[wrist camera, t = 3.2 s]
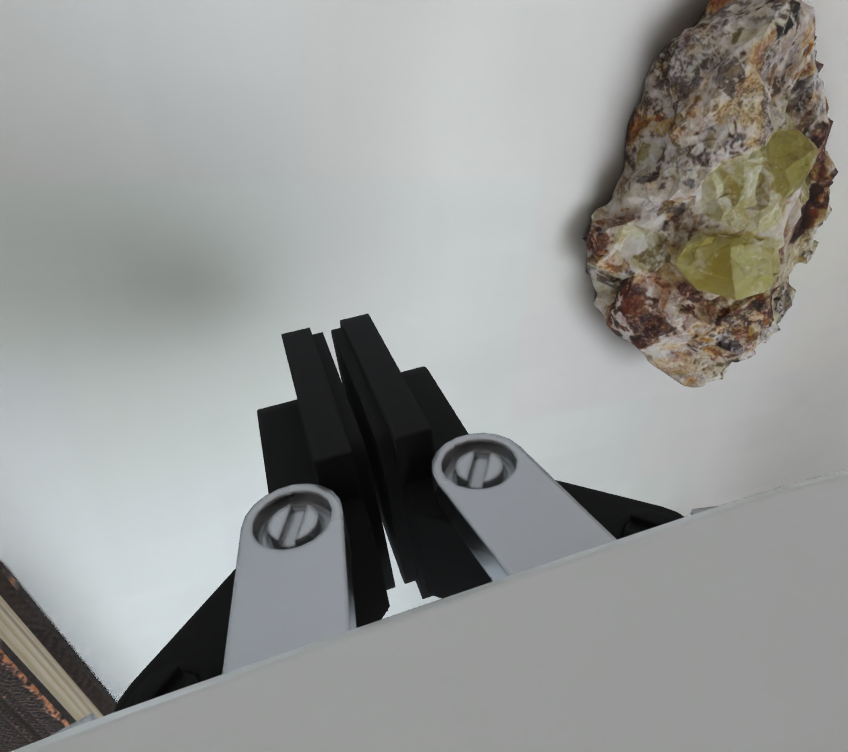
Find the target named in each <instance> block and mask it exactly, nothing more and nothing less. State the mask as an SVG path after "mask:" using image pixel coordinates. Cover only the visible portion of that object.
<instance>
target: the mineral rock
mask: <svg viewBox="0 0 848 752" xmlns="http://www.w3.org/2000/svg"><path fill="white" fill-rule="evenodd" d="M816 37H817V36H815V14H814V7H811V6H809V5H806V4H805V3H804V2H803V1H802V0H710V1H709V3H708V4H707V7H706V9H705V11H704V14H703V16H702V18H701V20H700V21H699V22H698V23H697V24H696V26H695V27H692V28H687V29H684V31H683V32H682V33H681V34H680V35H679V36H678V37H676V38H672V39H671V40H670V41H669V43H668V44H667V45H666V47H665V48H664V49H663V51H662V52H661V53H660V55H659V56H658V58H657V59H656V60H655V62H654V63H653V65H652V66H651V68H650V70H649V73H648V75H647V77H646V79H645V91H644V94H643V98H642V101H641V102H640V103H639V105H638V106H637V107H636V108H635V110H634V112H633V115H632V117H631V119H630V122H629V124H628V129H627V138H626V149H625V170H624V172H623V173H622V175H621V177H620V179H619V181H618V183H617V185H616V186H615V189H614V192H613V194H612V197H611V200H610V202H609V203H608V204H607V205H605V206H603V207H600V208H597V209H596V211H595V212H594V213H593V214H592V215H591V219H592V223H591V224H590V232H589V233H588V235H587V236H586V237H584V238H583V240H584V241H585V242H586V243H587V269H586V272H587V274H588V275H589V276H590V277H591V279H592V283H593V286H594V288H595V290H596V291H597V297H596V300H595V302H594V305H595V306H596V307H597V308H598V309H599V310H600V312H601V313H602V314H603V315H604V317H605V318H606V323H607V326H608V327H609V328H610V329H611V330H612V331H613V332H614V333H615V334H616V335H618V336H620V337H621V338H623V339H625V340H627V341H629V342H631V343H632V344H634V345H635V346H636V347H637V348H638V349H639V350H640V351H641V352H643V353H644V354H645V356H646V358H647V359H648V361H649V362H650V363H651V364H652V365H654V366H655V367H657V368H658V369H660V370H661V371H663V372H664V373H666V374H667V375H668V376H670V377H671V378H673V379H674V380H675V381H677V382H679V383H680V384H682V385H684V386H688V387H702V386H703V385H705V384H706V383H707V382H710V381H713V380H716V379H723V378H724V375H725V373H726V371H727V368H728V366H729V365H730V363H731V362H739V361H741V360H745V359H748V358H750V357H751V356H753V355H755V354H756V353H755V351H754V349H755V347H756V346H757V345H758V344H760V343H766V342H767V340H768V339H769V338H770V337H771V336H772V334H773V333H775V332H777V331H779V330H780V328H779V326H778V323H779V322H780V321H781V319H782V317H783V316H784V315H785V313H786V311H787V310H788V309H789V308H790V307H791V306H792V300H793V298H794V296H795V293H796V290H795V289H794V288H792V287H791V286H790V285H789V277H788V276H789V274H790V273H791V271H792V269H793V267H794V266H795V265H796V264H797V263H799V262H802V263H806V264H807V263H808V261H809V260H810V259H811V257H812V256H813V254H814V251H815V249H816V247H817V245H818V243H819V242H817V241H815V240H814V238H815V234H816V230H817V229H818V228H819V227H820V226H821V225H822V224H823V222H824V221H825V220H826V219H827V217H828V215H829V214H830V212H831V211H832V209H831V207H830V205H829V194H830V189H829V187H830V186H831V185H832V184H833V181H832V180H833V178H834V177H835V176H836V174H837V173H838V171H837V169H836V168H835V166H834V163H833V161H832V160H831V158H830V157H829V155H828V152H827V151H825V146H826V142H827V139H828V136H829V133H830V129H831V126H832V123H833V121H832V120H830V119H829V118H828V117H827V113H828V104H827V99H826V97H825V93H824V87H823V81H822V80H821V79H820V78H819V74H818V73H819V71H820V70H821V68H822V67H823V64H821V63H819V62H817V61H816V60H815V57H816V51H815V45H816V43H815V44H814V41H815V39H816Z"/></svg>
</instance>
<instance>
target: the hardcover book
mask: <svg viewBox="0 0 848 752" xmlns="http://www.w3.org/2000/svg"><path fill="white" fill-rule="evenodd" d="M116 705H117V703H116V702H115V701H114V700H113V699H112V697H111V696H110V695H109V694H108V692H107V691H106V690H105V689H104V688H103V686H102V685H101V684H100V683H99V681H98V680H97V679H96V678H95V677H94V675H93V674H92V673H91V672H90V670H89V669H88V668H87V667H86V666H85V664H84V663H83V662H82V661H81V659H80V658H79V657H78V656H77V655H76V653H75V652H74V651H73V650H72V648H71V647H70V646H69V645H68V644H67V642H66V641H65V640H64V639H63V637H62V636H61V635H60V634H59V632H58V631H57V630H56V629H55V628H54V626H53V625H52V624H51V623H50V621H49V620H48V619H47V618H46V617H45V615H44V614H43V613H42V612H41V610H40V609H39V608H38V607H37V606H36V604H35V603H34V602H33V601H32V599H31V598H30V597H29V596H28V595H27V593H26V592H25V591H24V590H23V588H22V587H21V586H20V585H19V584H18V582H17V581H16V580H15V579H14V577H13V576H12V575H11V574H10V573H9V571H8V570H7V569H6V568H5V566H4V565H3V564H2V563H1V562H0V752H11V751H13V750H16V749H19V748H21V747H24V746H26V745H29V744H31V743H34V742H37V741H39V740H42V739H44V738H47V737H49V736H51V735H52V734H54V733H56V732H58V731H60V730H62V729H63V728H65V727H67V726H69V725H71V724H73V723H75V722H76V721H78V720H80V719H82V718H84V717H86V716H87V715H89V714H91V713H94V715H95V716H96V718H97V719H98V718H101V717H103V716H106V715H108V714H110V713H112V712H114V710H115V708H116Z"/></svg>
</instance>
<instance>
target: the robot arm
mask: <svg viewBox="0 0 848 752" xmlns="http://www.w3.org/2000/svg"><path fill="white" fill-rule="evenodd" d="M340 326H341V328H338V329H334V330H331V333H332V339H333V343H334V348H335V352H336V357H337V362H338V366H339V371H340V375H341V379H340V377H339V374H338V371H337V369H336V366H335V364H334V361H333V358H332V356H331V353H330V350H329V348H328V345H327V342H326V340H325V337H324V335H323V332H321V333H317V334H313V335H312V333H311V330H310V328H306V329H302V330H297V331H293V332H289V333H285V334H281V335H282V339H283V343H284V347H285V351H286V355H287V359H288V363H289V367H290V371H291V375H292V379H293V383H294V387H295V391H296V395H297V400H293V401H289V402H286V403H282V404H278V405H274V406H270V407H266V408H263V409H259V410H257V415H258V422H259V429H260V436H261V443H262V450H263V457H264V464H265V471H266V478H267V485H268V492H269V494H268V495H266V496H264V497H263V498H262V499H261V500H259V501H258V502H257V503H256V504H255V505H253V507H252V508H251V509H250V511H249V512H248V513H247V515H246V516H245V518H244V521H243V524H242V527H241V533H240V541H239V548H238V556H237V564H236V569H235V570H234V571H233V572H232V573H231V574H230V575H229V576H228V578H227V579H226V580H225V581H224V582H223V583H222V584H221V585H220V586H219V587H218V589H217V590H216V591H215V592H214V593H213V594H212V595H211V596H210V597H209V598H208V600H207V601H206V602H205V603H204V604H203V605H202V606H201V607H200V608H199V610H198V611H197V612H196V613H195V614H194V615H193V616H192V617H191V618H190V619H189V621H188V622H187V623H186V624H185V625H184V626H183V627H182V628H181V629H180V630H179V632H178V633H177V634H176V635H175V636H174V637H173V638H172V639H171V640H170V641H169V643H168V644H167V645H166V646H165V647H164V648H163V649H162V650H161V651H160V652H159V654H158V655H157V656H156V657H155V658H154V659H153V660H152V661H151V662H150V663H149V665H148V666H147V667H146V668H145V669H144V670H143V671H142V672H141V673H140V674H139V676H138V677H137V678H136V679H135V680H134V681H133V682H132V683H131V685H130V686H129V687H128V689H127V690H126V691H125V693H124V694H123V695H122V697H121V698H120V699H119V701H118V703H117V705H116V708H115V710H114V712H112V713H110V714H108V715H106V716H103V717H101V718H98V719H97V718H96V716H95V715H94V713H91V714H89V715H87V716H86V717H84V718H82V719H80V720H78V721H76V722H75V723H73V724H71V725H69V726H67V727H65V728H63V729H62V730H60V731H58V732H56V733H54V734H52V735H51V736H49V737H47V738H44V739H42V740H39V741H37V742H34V743H31V744H29V745H26V746H24V747H21V748H19V749H16V750H13V751H11V752H848V471H843V472H838V473H834V474H829V475H824V476H819V477H815V478H811V479H807V480H804V481H800V482H797V483H793V484H790V485H787V486H783V487H780V488H776V489H773V490H769V491H766V492H762V493H759V494H756V495H752V496H749V497H745V498H742V499H739V500H736V501H733V502H730V503H727V504H724V505H721V506H715V507H707V508H699V509H692V513H691V515H690V516H687V517H684V516H682V515H681V514H679V513H678V512H675V511H672V510H670V509H667V508H664V507H661V506H657V505H653V504H649V503H645V502H641V501H637V500H633V499H629V498H625V497H621V496H617V495H613V494H609V493H605V492H601V491H597V490H593V489H589V488H585V487H581V486H577V485H573V484H569V483H565V482H561V481H557V480H554V479H553V478H552V477H551V476H550V475H549V474H548V473H547V472H546V471H545V470H544V469H543V468H542V467H541V466H540V465H539V464H538V463H537V462H536V461H535V460H534V459H533V458H531V457H530V456H529V455H528V454H527V453H526V452H525V451H524V450H523V449H522V448H521V447H520V446H519V445H517V444H516V443H515V442H513V441H512V440H510V439H508V438H505V437H502V436H500V435H496V434H488V433H476V434H468V432H467V431H466V429H465V428H464V426H463V425H462V423H461V421H460V420H459V418H458V417H457V415H456V413H455V412H454V410H453V409H452V407H451V406H450V404H449V402H448V401H447V399H446V398H445V396H444V394H443V393H442V391H441V390H440V388H439V387H438V385H437V383H436V382H435V380H434V379H433V377H432V375H431V374H430V372H429V371H428V369H427V368H426V367H420V368H416V369H412V370H408V371H404V372H400V370H399V368H398V367H397V365H396V363H395V361H394V359H393V358H392V356H391V354H390V352H389V350H388V349H387V347H386V345H385V343H384V341H383V339H382V338H381V336H380V334H379V332H378V330H377V329H376V327H375V325H374V323H373V321H372V320H371V318H370V316H369V314H364V315H360V316H356V317H352V318H348V319H343V320H340ZM341 380H342V382H341ZM342 384H343V385H342ZM382 522H383V524H382ZM383 525H384V528H385V531H386V534H387V536H388V539H389V542H390V545H391V548H392V550H393V553H394V556H395V559H396V562H397V564H398V567H399V570H400V573H401V576H402V578H403V581H404V583H405V584H406V583H409V582H412V581H415V580H416V583H417V585H418V588H419V591H420V593H421V596H422V599H425V598H428V597H431V596H436V597H439V598H442V599H440V600H437V601H434V602H431V603H428V604H425V605H422V606H419V607H417V608H414V609H411V610H408V611H405V612H402V613H399V614H396V615H393V616H390V617H387V618H384V619H382V618H383V616H384V615H385V613H386V611H388V608H389V607H390V605H389V600H388V596H387V591H386V590H388V589H391V588H394V587H395V582H394V577H393V572H392V568H391V563H390V558H389V553H388V548H387V543H386V539H385V534H384V529H383Z"/></svg>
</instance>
